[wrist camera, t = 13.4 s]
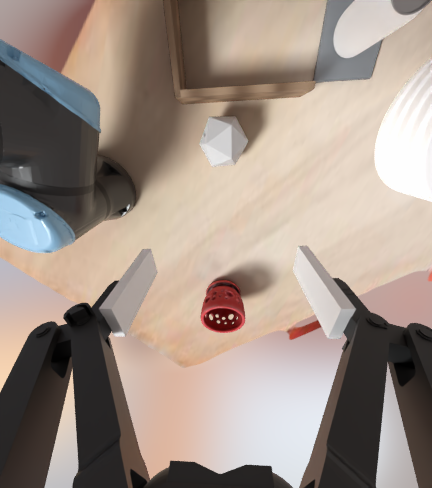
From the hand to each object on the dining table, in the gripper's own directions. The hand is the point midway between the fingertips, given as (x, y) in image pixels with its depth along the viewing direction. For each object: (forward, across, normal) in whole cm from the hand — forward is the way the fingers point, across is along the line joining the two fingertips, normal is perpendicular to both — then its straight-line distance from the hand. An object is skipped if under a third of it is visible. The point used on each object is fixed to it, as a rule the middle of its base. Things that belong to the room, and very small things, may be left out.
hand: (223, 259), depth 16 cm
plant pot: (+32, +1, +36) cm, 48 cm away
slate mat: (+32, -22, -24) cm, 45 cm away
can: (+31, -22, -24) cm, 45 cm away
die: (+32, 0, -9) cm, 33 cm away
